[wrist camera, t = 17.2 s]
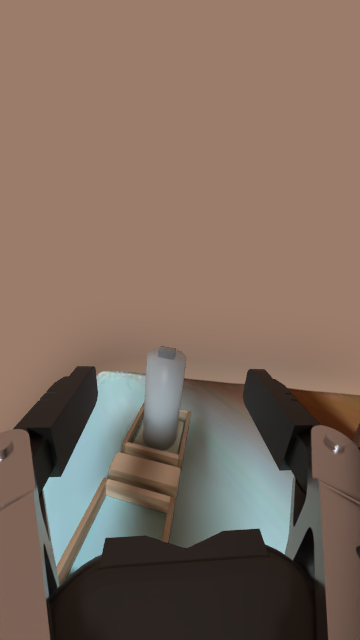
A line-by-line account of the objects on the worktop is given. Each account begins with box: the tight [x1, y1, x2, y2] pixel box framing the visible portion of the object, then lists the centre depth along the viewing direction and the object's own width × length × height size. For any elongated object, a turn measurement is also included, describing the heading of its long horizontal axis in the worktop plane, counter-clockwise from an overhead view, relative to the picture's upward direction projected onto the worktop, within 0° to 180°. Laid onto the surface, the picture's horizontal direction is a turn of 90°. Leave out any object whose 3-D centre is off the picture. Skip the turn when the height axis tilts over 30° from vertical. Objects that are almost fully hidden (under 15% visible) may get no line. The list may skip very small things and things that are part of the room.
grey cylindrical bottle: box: [143, 346, 186, 451], centre depth 26 cm, size 5×5×14 cm
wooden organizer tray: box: [56, 402, 191, 585], centre depth 22 cm, size 8×20×2 cm, turn 169°
